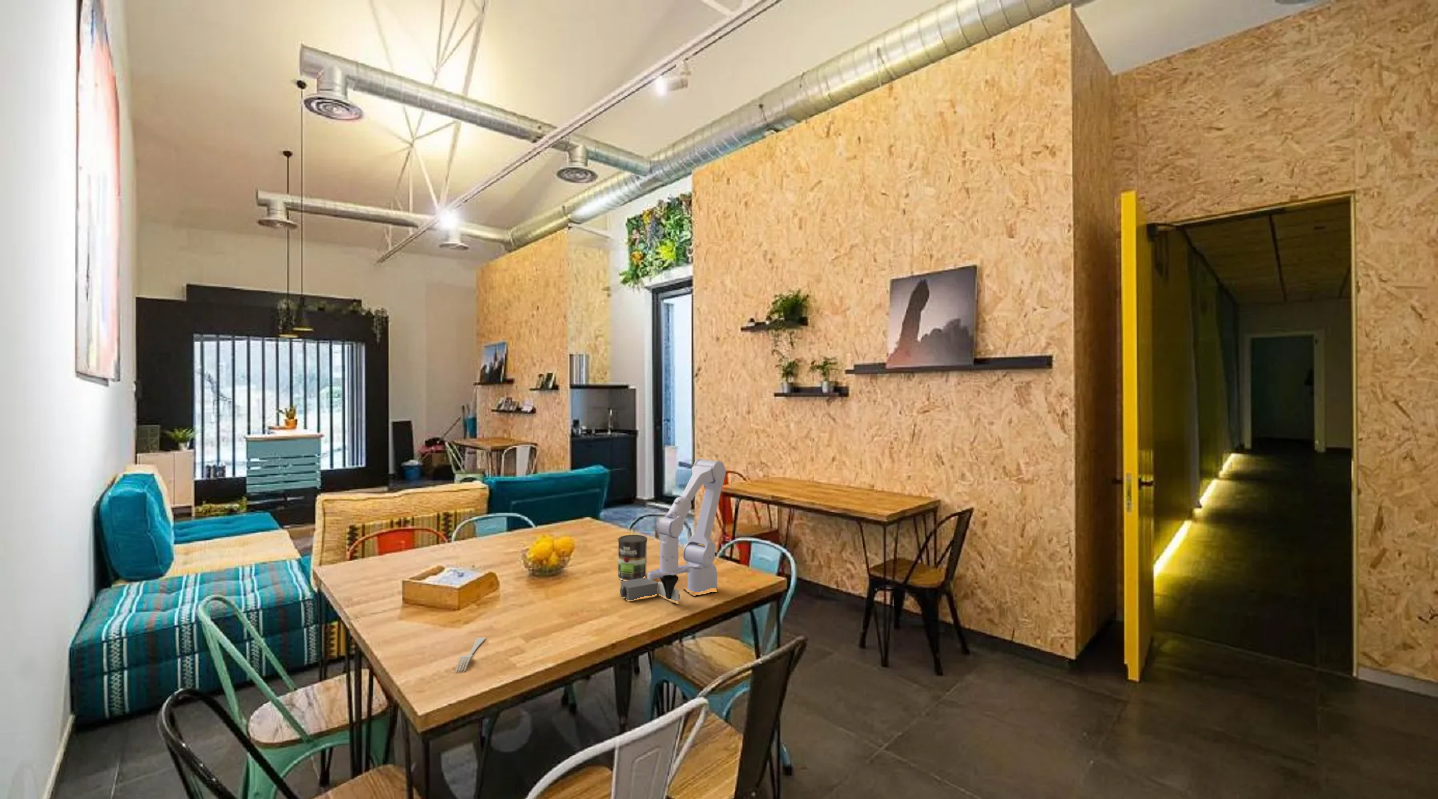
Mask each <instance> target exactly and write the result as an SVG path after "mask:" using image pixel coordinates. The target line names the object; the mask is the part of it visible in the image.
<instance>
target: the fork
mask: <svg viewBox="0 0 1438 799" xmlns="http://www.w3.org/2000/svg"><path fill="white" fill-rule="evenodd" d="M486 639H487V637H486V636H484V637H483V638H481V637H477V638H476V639H475V640H474V643H473V646H472V648H471V650H470V652H469V654H466V655H461V656H460V657H459V659H458V662H457V666H456V670H455V673H456V672H457V673H458V672H459V671H460V672H461V671H462V670H463V671H462V672H464V671H465V672H466V669H467V667H468V665H469V663H470V660H471V659H472V657H473V656H474V653H475V651H476V650H477V649H478V648H479V646H481V645H482V644H483V642H484V641H485V640H486Z"/></svg>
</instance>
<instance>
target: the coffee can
mask: <svg viewBox="0 0 1438 799" xmlns="http://www.w3.org/2000/svg"><path fill="white" fill-rule="evenodd" d="M617 541H618V549H617V550H618V553H617V554H618V556H617V557H618V559H617V560H618V562H617V564H618V565H617V571H618V572H617V578H618V577H619V579H621V580H633V579H639V578H643V577H644V576H647V562H648V561H647V558H648V556H647V555H648V554H647V553H648V550H647V549H648V537H647V536H645V535H642V534H626V535H621V536H619V537H618V539H617ZM619 579H618V580H619ZM621 580H620V581H621Z"/></svg>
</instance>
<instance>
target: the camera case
mask: <svg viewBox="0 0 1438 799" xmlns="http://www.w3.org/2000/svg"><path fill="white" fill-rule="evenodd" d="M619 592H620V593H619V594H620V597H621V598H623V597H625V598H626V599H627V600H634V599H637V598H640V597H644V596H652V595H655V594H658V582H657V581H655V580H654V579H653V580H649V579H647V577H645V578H639V579H633V580H627V581H621V580H620V588H619ZM625 598H624V599H625ZM626 599H625V600H626ZM627 600H626V601H627Z"/></svg>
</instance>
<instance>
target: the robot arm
mask: <svg viewBox="0 0 1438 799" xmlns="http://www.w3.org/2000/svg"><path fill="white" fill-rule="evenodd" d="M726 474H727V469H726V466H725V464H724V462H723V461H721V460H710V459H702V458H697V459H696V460H695V461H694V463H693V465H692V467H691V476H690V478H689V481H688V482H687V484H686V487H685V488H684V490H683V492H682V495H681V496H677V497H676V498H675V499H674V501H673V503H672V504H671V505H670V506H671V507H670V508H669V510H668V511H667V512H666V514H665V516H663V517H661V518H660V519H659V520H658V522H657V526H656V532H657V534H658V539H659V541H660V547H659V548H660V549H659V568H657V569H655V570H652V571H646V576H647V579H649V580H654V579H655V580H656V579H658V578H659V580H660V582H662V584H663V586H664V589H665V594H666V598H667V599H671V598H672V593H673V589H674V588H676V587H675V586H676V585H677V582H678V581H679V574H685V573H686V574H687V587H688V589H689V590H690V591H694V592H701V591H705V590H707V589H710V588H717V589H718V570H717V566H716V565H715V564H714V562H715V558H716V551H715V550H716V544H715V542H714V541H713V540H712V537H711V535H712V532H713V526H714V523H715V518H716V514H717V510H718V505H719V502H720V497H721V494H722V493H721V492H722V488H723V486H724V482H725V481H724V480H725V477H726ZM702 486H704V493H703V498H702V502H701V506H700V509H699V510H700V511H699V515H698V519H697V523H696V528H695V532H694V534H692V535H691V536H690V537H688V538H687V542H686V544H685V546H684V547H683V550H682V557H683V560H684V561H685V564H684V565H683V564H682V565H679V542H680V540H679V536H681V534H682V533H683V530H684V524H685V519H686V518H687V517H688V516H687V515H688V514H689V512H690V510H691V509H692V500H693V499H694V497H695V496H696V495H697V493H698V492H699V490H700V489H701V487H702Z"/></svg>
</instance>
